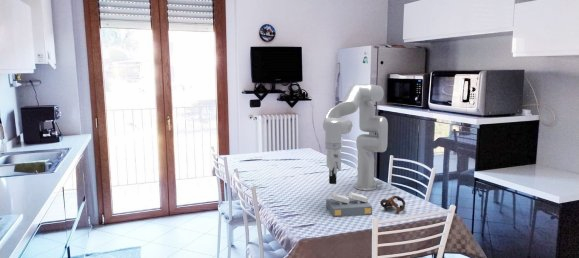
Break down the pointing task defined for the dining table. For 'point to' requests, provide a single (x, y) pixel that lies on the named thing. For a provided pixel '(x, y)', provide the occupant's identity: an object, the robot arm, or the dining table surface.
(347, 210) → the switch unit
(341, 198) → the rocker
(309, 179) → the dining table surface
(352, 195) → the rocker
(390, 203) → the brown looped piece
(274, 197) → the dining table surface
